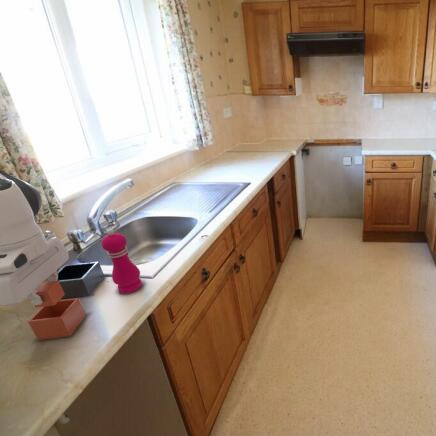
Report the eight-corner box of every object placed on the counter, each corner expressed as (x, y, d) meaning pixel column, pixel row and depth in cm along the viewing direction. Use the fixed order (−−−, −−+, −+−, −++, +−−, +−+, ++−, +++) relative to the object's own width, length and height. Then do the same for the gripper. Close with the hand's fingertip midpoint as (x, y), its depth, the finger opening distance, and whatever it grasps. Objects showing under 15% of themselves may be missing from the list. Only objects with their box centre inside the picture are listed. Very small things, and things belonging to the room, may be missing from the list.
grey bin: (53, 299, 95) (45, 283, 93) (72, 280, 104) (64, 265, 101) (89, 295, 96) (82, 279, 94) (105, 277, 105) (98, 261, 102)
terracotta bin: (37, 340, 81) (27, 321, 78) (56, 319, 87) (47, 301, 85) (70, 336, 81) (61, 317, 79) (86, 315, 88) (78, 297, 86)
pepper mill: (136, 277, 104) (117, 222, 95) (148, 285, 100) (129, 227, 91) (113, 289, 98) (89, 231, 90) (124, 297, 95) (101, 238, 86)
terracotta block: (35, 307, 79) (27, 293, 77) (46, 296, 82) (39, 282, 81) (54, 305, 79) (47, 291, 77) (65, 294, 83) (58, 280, 81)
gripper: (37, 229, 83) (59, 273, 89) (-31, 273, 65) (2, 326, 71) (64, 226, 84) (83, 270, 90) (4, 270, 65) (33, 322, 71)
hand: (47, 295), depth 80 cm, fingers closed on terracotta block, 4 cm apart
